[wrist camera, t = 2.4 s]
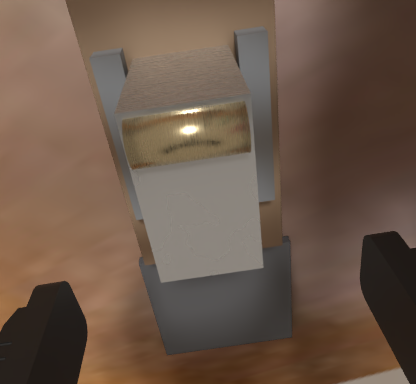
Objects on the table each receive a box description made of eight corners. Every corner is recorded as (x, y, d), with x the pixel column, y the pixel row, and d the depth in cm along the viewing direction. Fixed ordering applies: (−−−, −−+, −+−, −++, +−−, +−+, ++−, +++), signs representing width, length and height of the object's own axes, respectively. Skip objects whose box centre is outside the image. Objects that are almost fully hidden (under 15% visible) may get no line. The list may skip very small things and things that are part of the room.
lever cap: (132, 58, 16) (110, 124, 11) (227, 44, 16) (255, 103, 11) (164, 196, 20) (160, 298, 15) (241, 185, 20) (267, 283, 15)
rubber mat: (139, 257, 26) (138, 263, 26) (288, 236, 26) (290, 241, 26) (167, 348, 32) (167, 355, 31) (290, 331, 32) (292, 337, 31)
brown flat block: (66, -62, 17) (38, -61, 13) (256, -92, 16) (277, -99, 13) (148, 232, 25) (143, 278, 22) (272, 214, 25) (286, 257, 22)
